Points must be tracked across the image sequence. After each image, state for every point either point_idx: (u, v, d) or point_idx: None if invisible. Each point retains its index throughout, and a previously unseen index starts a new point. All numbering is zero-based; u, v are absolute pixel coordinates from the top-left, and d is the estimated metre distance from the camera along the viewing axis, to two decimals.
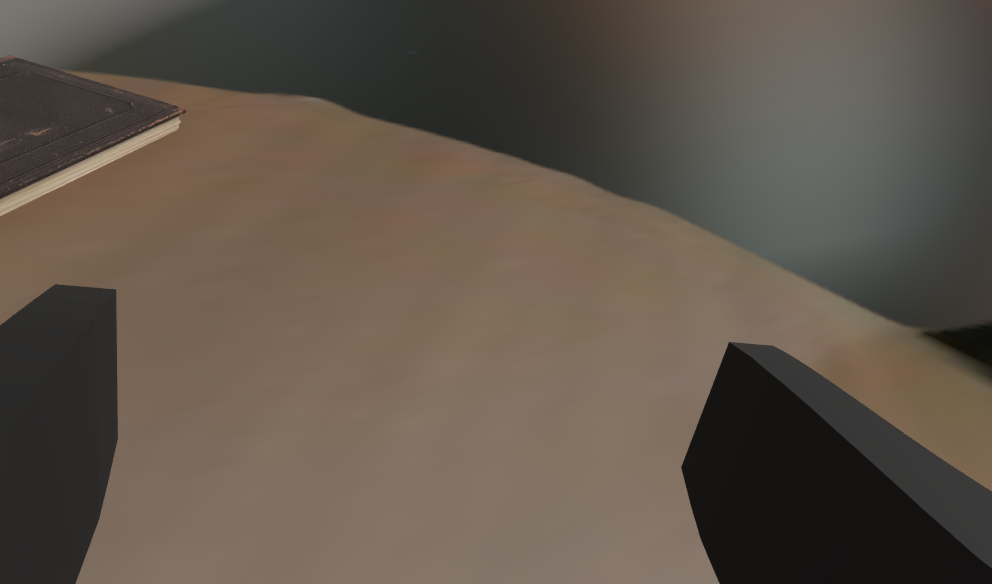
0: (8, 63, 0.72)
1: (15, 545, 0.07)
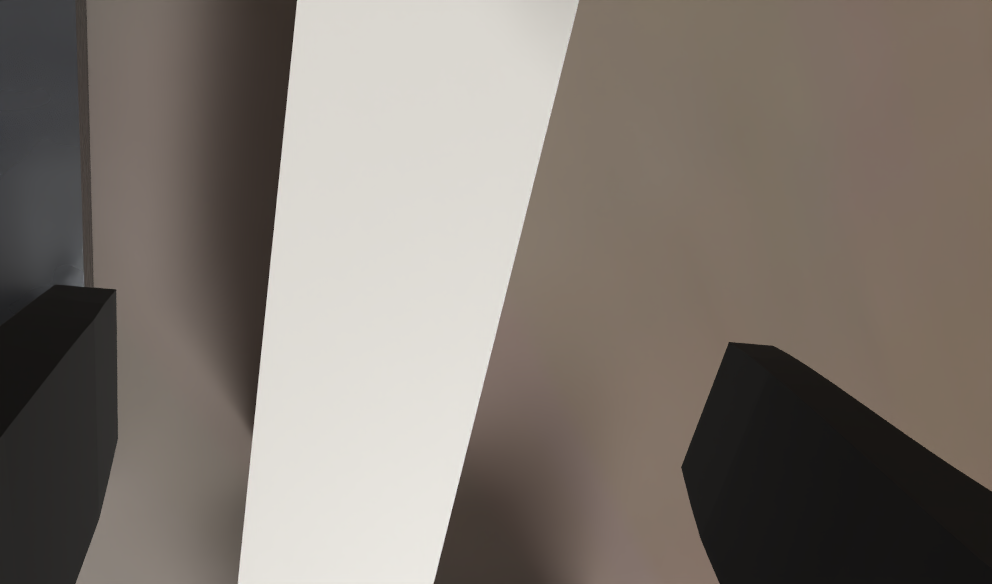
0: None
1: (15, 545, 0.07)
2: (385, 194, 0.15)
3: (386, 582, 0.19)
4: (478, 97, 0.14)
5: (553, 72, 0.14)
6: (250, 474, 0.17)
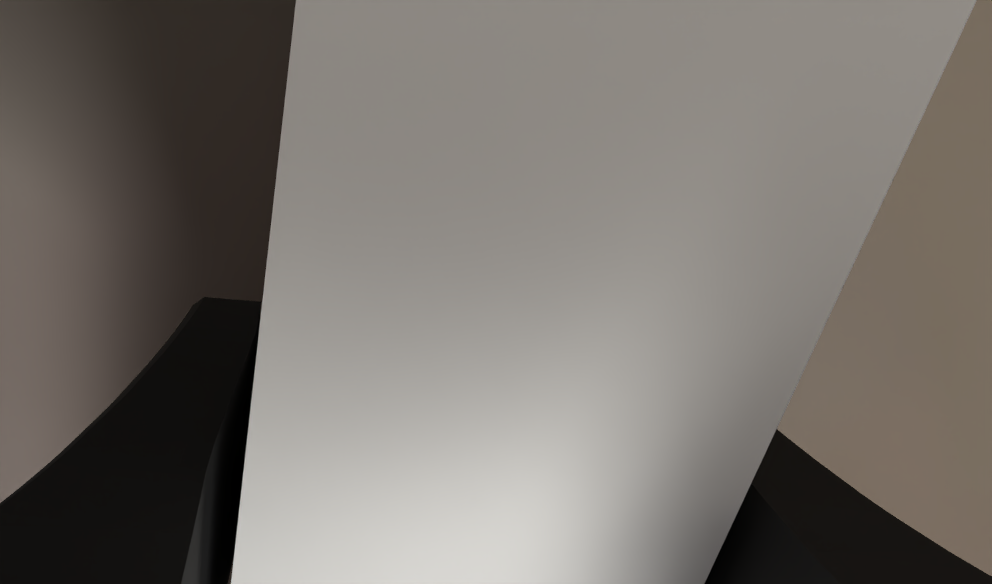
0: None
1: (209, 550, 0.08)
2: None
3: None
4: (625, 454, 0.07)
5: (770, 407, 0.07)
6: None
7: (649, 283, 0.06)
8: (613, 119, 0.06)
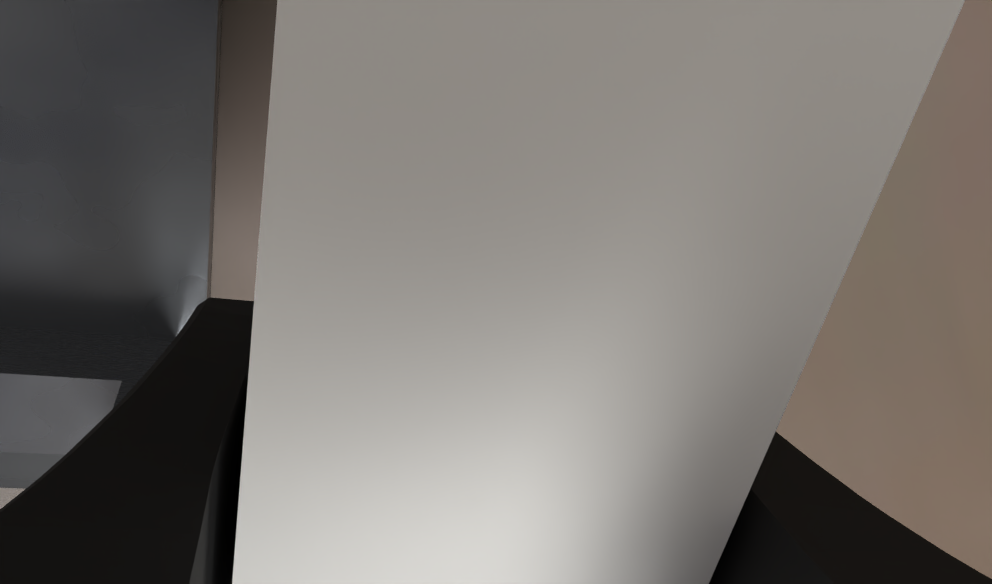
0: None
1: (214, 550, 0.08)
2: None
3: None
4: (623, 456, 0.07)
5: (771, 405, 0.07)
6: None
7: (645, 283, 0.06)
8: (602, 119, 0.06)
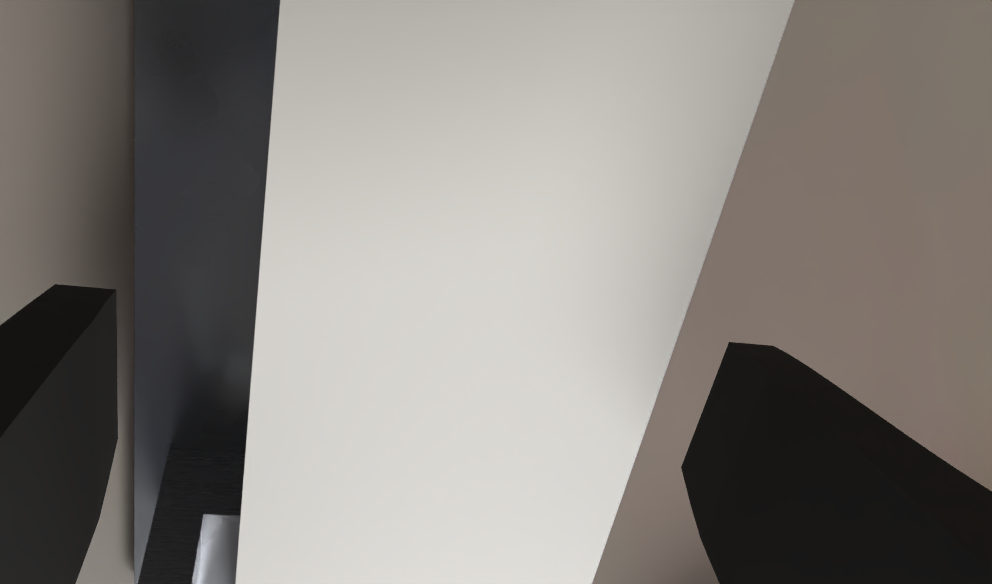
0: None
1: (15, 545, 0.07)
2: (414, 463, 0.09)
3: None
4: (565, 323, 0.09)
5: (684, 282, 0.09)
6: None
7: (574, 172, 0.08)
8: (535, 36, 0.07)
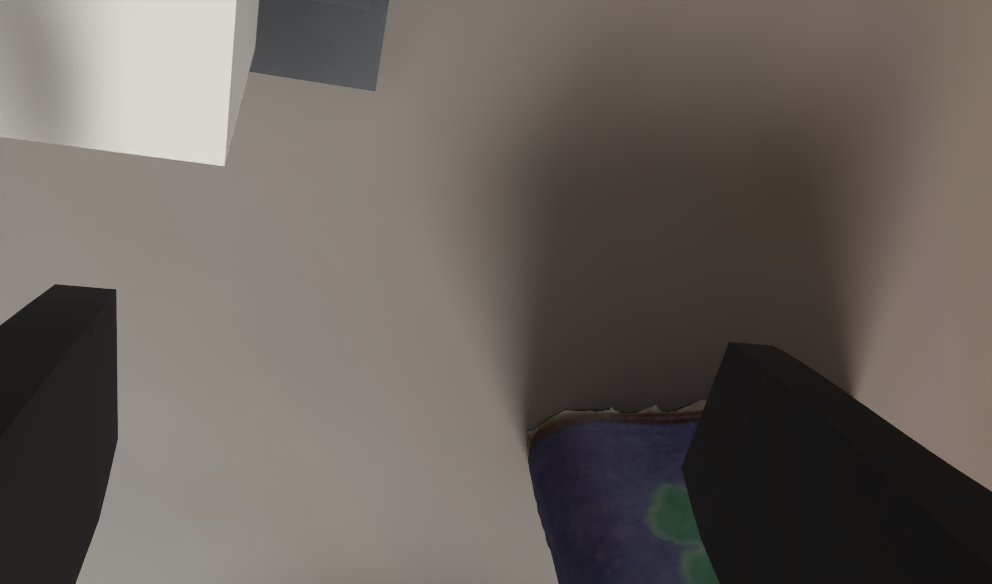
0: None
1: (15, 545, 0.07)
2: None
3: (138, 117, 0.11)
4: None
5: None
6: None
7: None
8: None
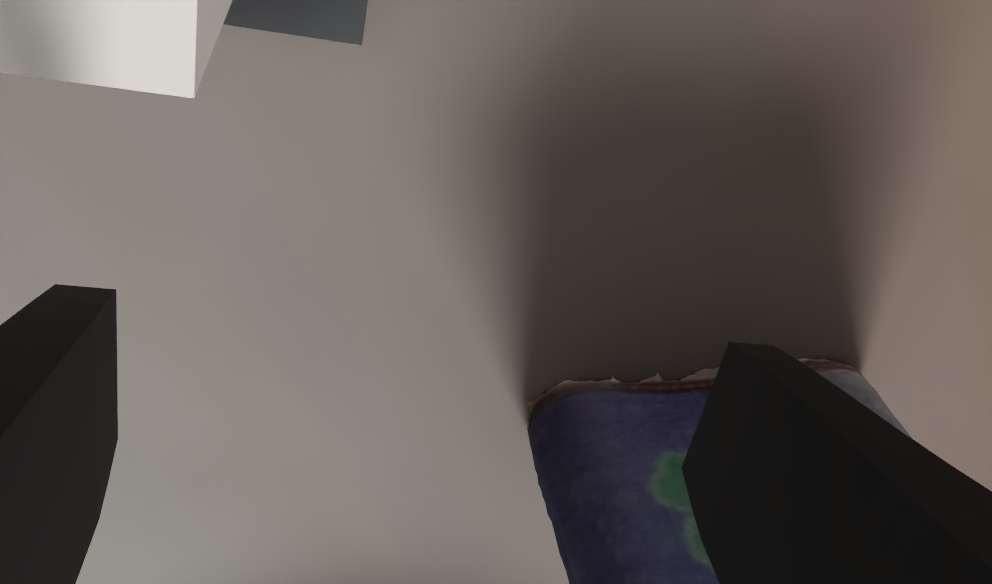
0: None
1: (15, 545, 0.07)
2: None
3: (101, 46, 0.10)
4: None
5: None
6: None
7: None
8: None
